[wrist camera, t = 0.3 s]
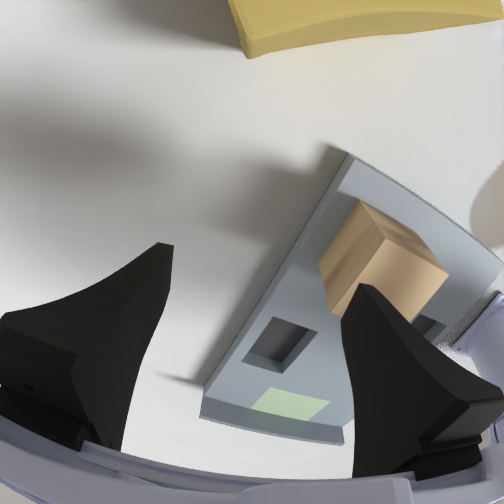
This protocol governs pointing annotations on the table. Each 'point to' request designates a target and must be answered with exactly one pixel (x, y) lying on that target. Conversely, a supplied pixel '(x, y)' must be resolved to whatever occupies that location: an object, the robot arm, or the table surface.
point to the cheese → (347, 20)
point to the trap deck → (332, 317)
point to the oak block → (379, 262)
